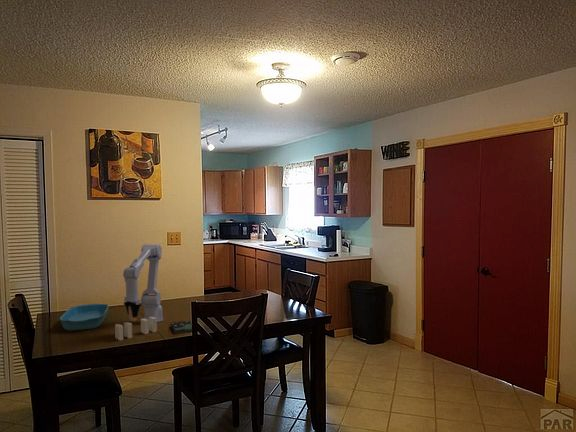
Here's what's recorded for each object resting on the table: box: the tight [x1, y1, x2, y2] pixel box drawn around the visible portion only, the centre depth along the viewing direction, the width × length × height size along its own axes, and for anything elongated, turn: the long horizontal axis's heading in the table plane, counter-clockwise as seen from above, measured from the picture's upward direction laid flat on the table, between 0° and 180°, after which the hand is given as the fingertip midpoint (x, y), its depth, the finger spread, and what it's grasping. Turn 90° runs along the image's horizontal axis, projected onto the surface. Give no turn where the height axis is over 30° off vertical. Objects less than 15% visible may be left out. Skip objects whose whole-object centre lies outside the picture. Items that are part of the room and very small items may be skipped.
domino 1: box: [114, 323, 124, 341], centre depth 207 cm, size 2×5×7 cm, turn 45°
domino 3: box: [128, 306, 138, 322], centre depth 216 cm, size 2×5×7 cm, turn 44°
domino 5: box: [149, 317, 158, 333], centre depth 220 cm, size 2×5×7 cm, turn 45°
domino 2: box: [123, 321, 133, 339], centre depth 211 cm, size 2×5×7 cm, turn 45°
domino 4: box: [140, 317, 150, 335], centre depth 217 cm, size 2×5×7 cm, turn 45°
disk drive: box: [170, 320, 193, 335], centre depth 222 cm, size 10×3×15 cm
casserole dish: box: [59, 303, 110, 331], centre depth 237 cm, size 37×22×7 cm, turn 15°
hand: (132, 316), depth 216 cm, fingers closed on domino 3, 5 cm apart
